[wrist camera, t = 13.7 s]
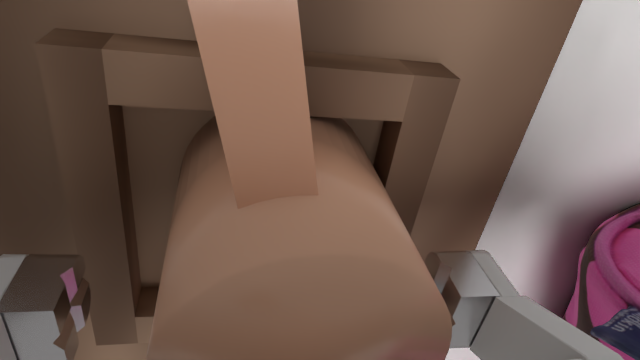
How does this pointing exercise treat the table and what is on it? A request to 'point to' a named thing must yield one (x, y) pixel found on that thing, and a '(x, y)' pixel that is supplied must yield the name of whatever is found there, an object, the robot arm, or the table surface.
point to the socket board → (197, 109)
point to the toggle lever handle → (284, 219)
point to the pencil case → (610, 285)
